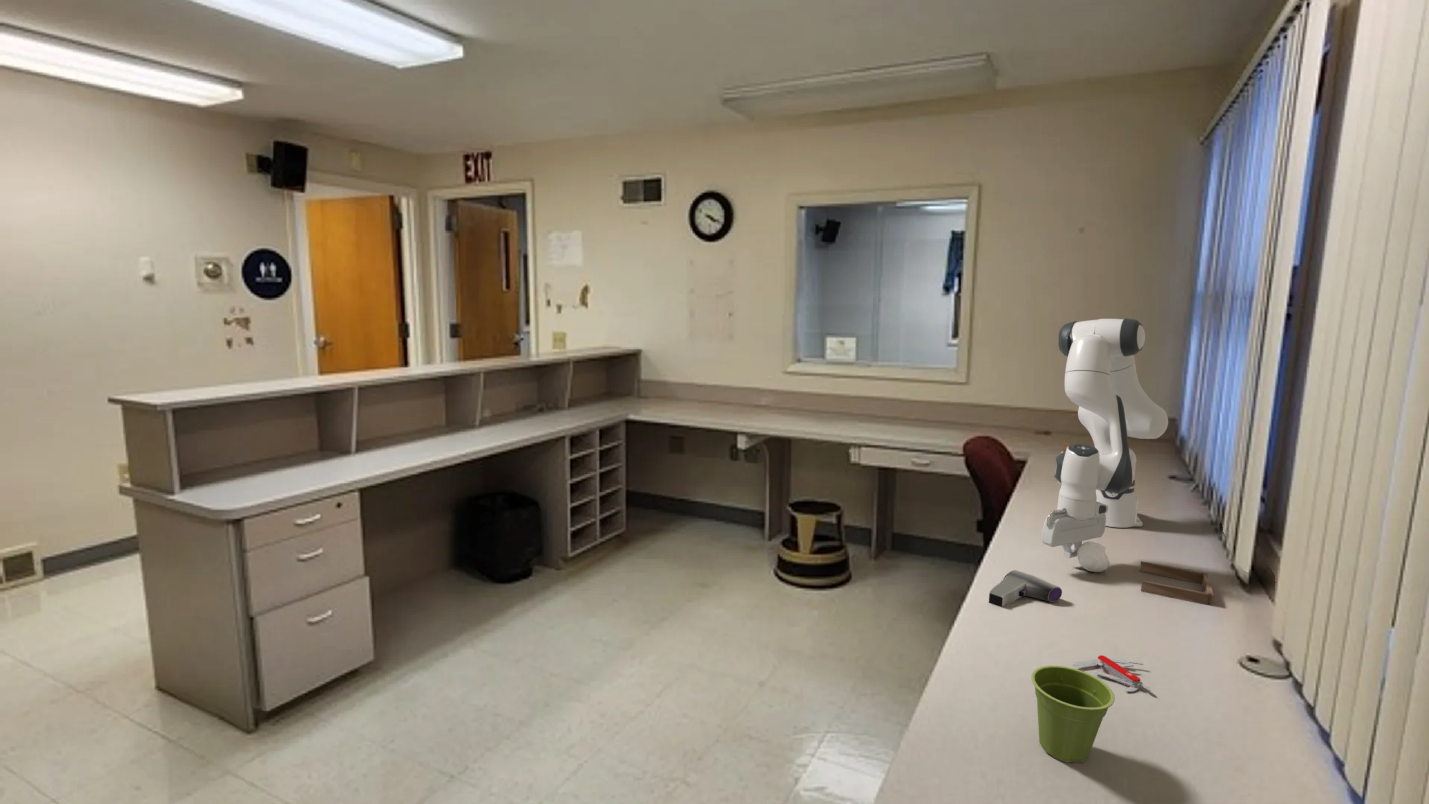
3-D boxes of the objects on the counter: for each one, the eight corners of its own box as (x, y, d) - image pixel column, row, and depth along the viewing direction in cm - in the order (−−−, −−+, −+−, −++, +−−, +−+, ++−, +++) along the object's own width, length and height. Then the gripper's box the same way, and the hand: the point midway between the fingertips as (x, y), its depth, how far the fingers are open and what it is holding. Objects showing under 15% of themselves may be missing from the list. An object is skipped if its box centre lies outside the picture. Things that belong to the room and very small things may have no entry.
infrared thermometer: (983, 605, 166) (1011, 583, 177) (1036, 624, 158) (1062, 600, 168) (984, 587, 165) (1013, 566, 176) (1037, 606, 157) (1064, 582, 167)
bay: (1139, 570, 187) (1140, 561, 186) (1206, 582, 180) (1207, 573, 179) (1140, 591, 174) (1142, 581, 173) (1212, 605, 167) (1214, 595, 166)
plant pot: (1025, 763, 110) (1033, 697, 108) (1022, 719, 121) (1029, 659, 119) (1111, 783, 106) (1121, 715, 104) (1100, 737, 117) (1108, 674, 115)
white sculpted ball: (1110, 579, 180) (1114, 550, 179) (1077, 574, 183) (1081, 545, 182) (1105, 567, 188) (1109, 539, 186) (1073, 562, 190) (1077, 535, 189)
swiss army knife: (1176, 691, 131) (1178, 681, 131) (1117, 702, 128) (1118, 691, 127) (1125, 659, 142) (1126, 650, 142) (1069, 668, 138) (1070, 659, 138)
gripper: (1059, 515, 178) (1053, 567, 180) (1112, 505, 187) (1106, 555, 189) (1038, 507, 183) (1032, 558, 186) (1091, 498, 192) (1085, 547, 195)
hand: (1070, 556), depth 188 cm, fingers closed
